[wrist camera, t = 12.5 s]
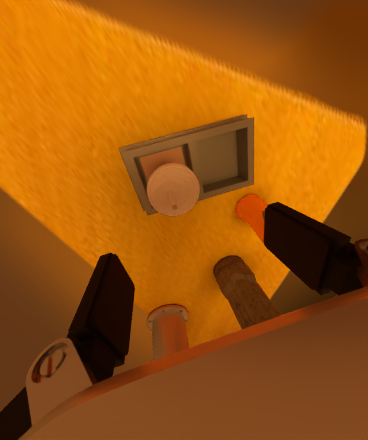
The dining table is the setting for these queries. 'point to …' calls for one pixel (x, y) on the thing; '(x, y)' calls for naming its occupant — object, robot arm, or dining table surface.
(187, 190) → the smoothie
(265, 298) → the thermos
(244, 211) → the beer glass
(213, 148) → the drink carrier
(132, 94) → the dining table surface
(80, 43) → the dining table surface
